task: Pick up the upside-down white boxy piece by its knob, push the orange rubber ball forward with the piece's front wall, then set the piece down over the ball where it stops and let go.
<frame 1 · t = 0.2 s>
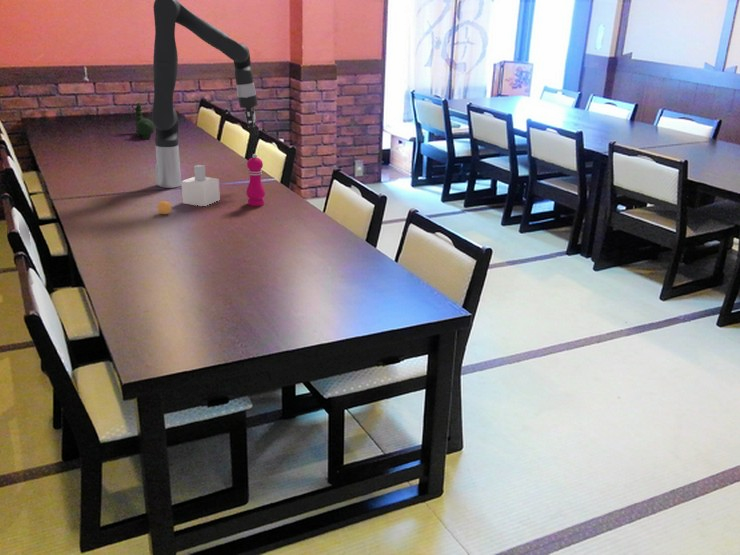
hand: (253, 134, 285), 22 cm above the table, tool pointing down, fingers open, 8 cm apart
pepper mill: (256, 204, 269), on the table
white boxy piece: (201, 201, 269), on the table
ball: (164, 207, 252), on the table
toy figurine: (144, 137, 384), on the table
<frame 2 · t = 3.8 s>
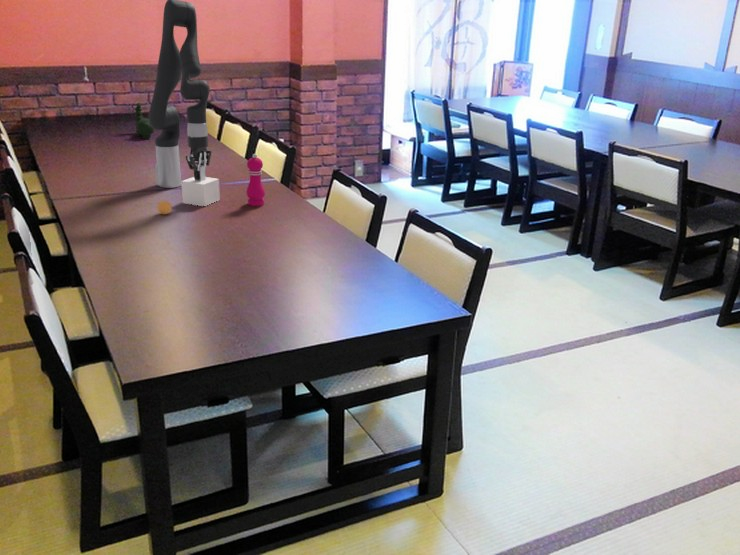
hand: (200, 178, 266), 9 cm above the table, tool pointing down, fingers closed on white boxy piece, 3 cm apart
white boxy piece: (201, 201, 269), on the table, touching gripper
everything else where it was.
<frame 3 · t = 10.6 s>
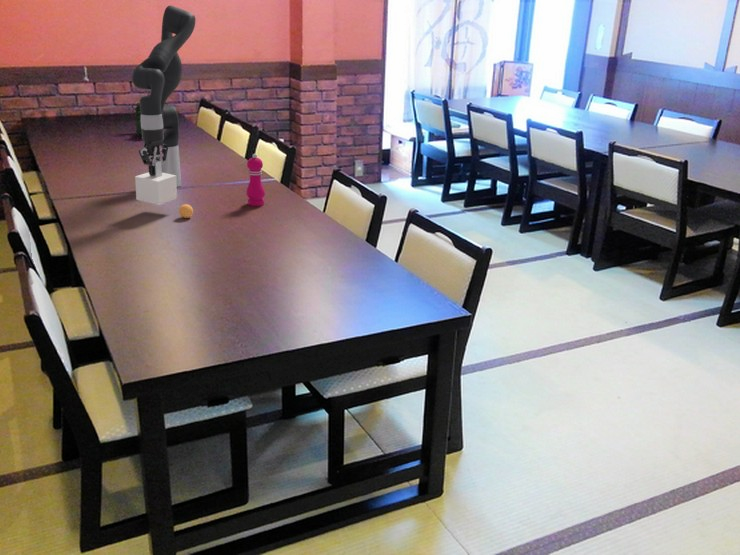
hand: (155, 174, 248), 15 cm above the table, tool pointing down, fingers closed on white boxy piece, 3 cm apart
white boxy piece: (156, 199, 252), point 5 cm above the table, touching gripper
ball: (186, 211, 249), on the table
everything else where it was.
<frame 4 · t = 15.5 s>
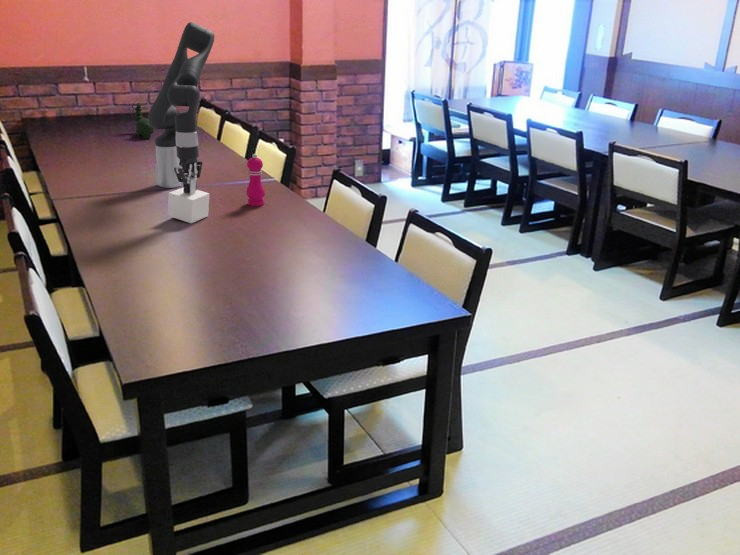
hand: (190, 191, 245), 10 cm above the table, tool pointing down, fingers closed on white boxy piece, 3 cm apart
white boxy piece: (188, 215, 249), point 1 cm above the table, tilted 8°, touching gripper
when the fingers open (10 cm above the table, at t = 15.8 s): white boxy piece stays where it is, on the table.
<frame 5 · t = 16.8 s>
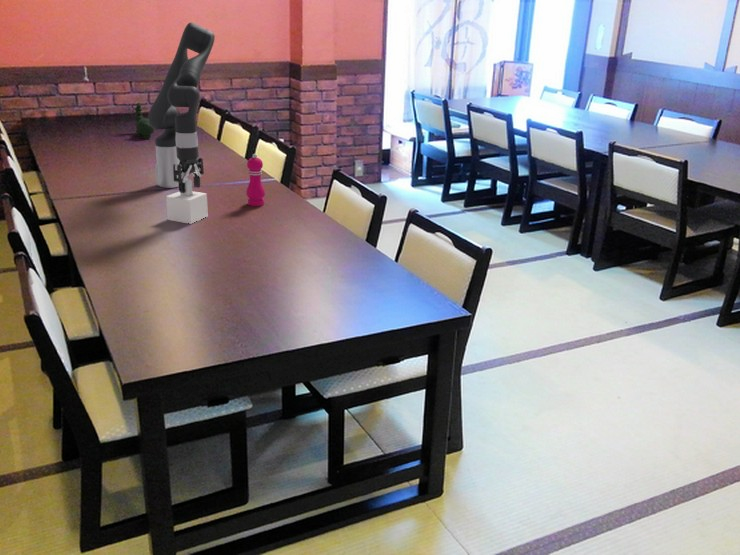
hand: (190, 189, 245), 11 cm above the table, tool pointing down, fingers open, 8 cm apart
white boxy piece: (188, 218, 249), on the table
everything else where it was.
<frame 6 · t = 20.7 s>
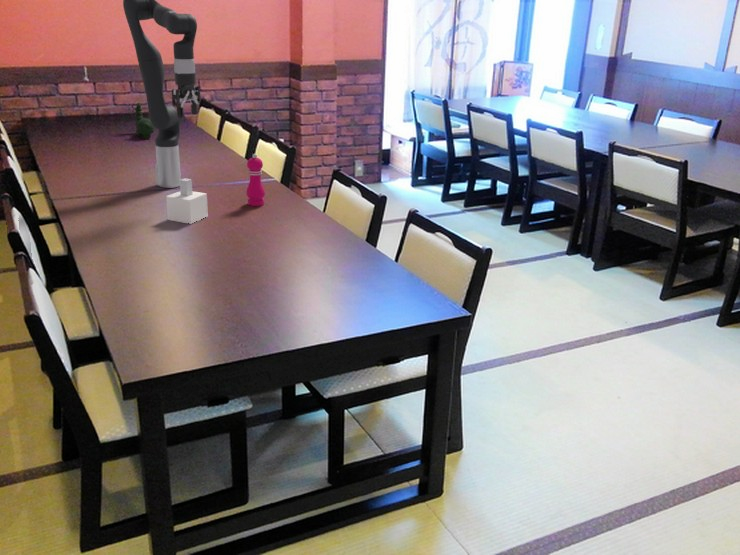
hand: (187, 115, 258), 33 cm above the table, tool pointing down, fingers open, 8 cm apart
nothing on the table moved.
at the end: ball 1.7 cm from the white boxy piece (horizontally); white boxy piece on the table; ball moved 8.6 cm from its start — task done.
